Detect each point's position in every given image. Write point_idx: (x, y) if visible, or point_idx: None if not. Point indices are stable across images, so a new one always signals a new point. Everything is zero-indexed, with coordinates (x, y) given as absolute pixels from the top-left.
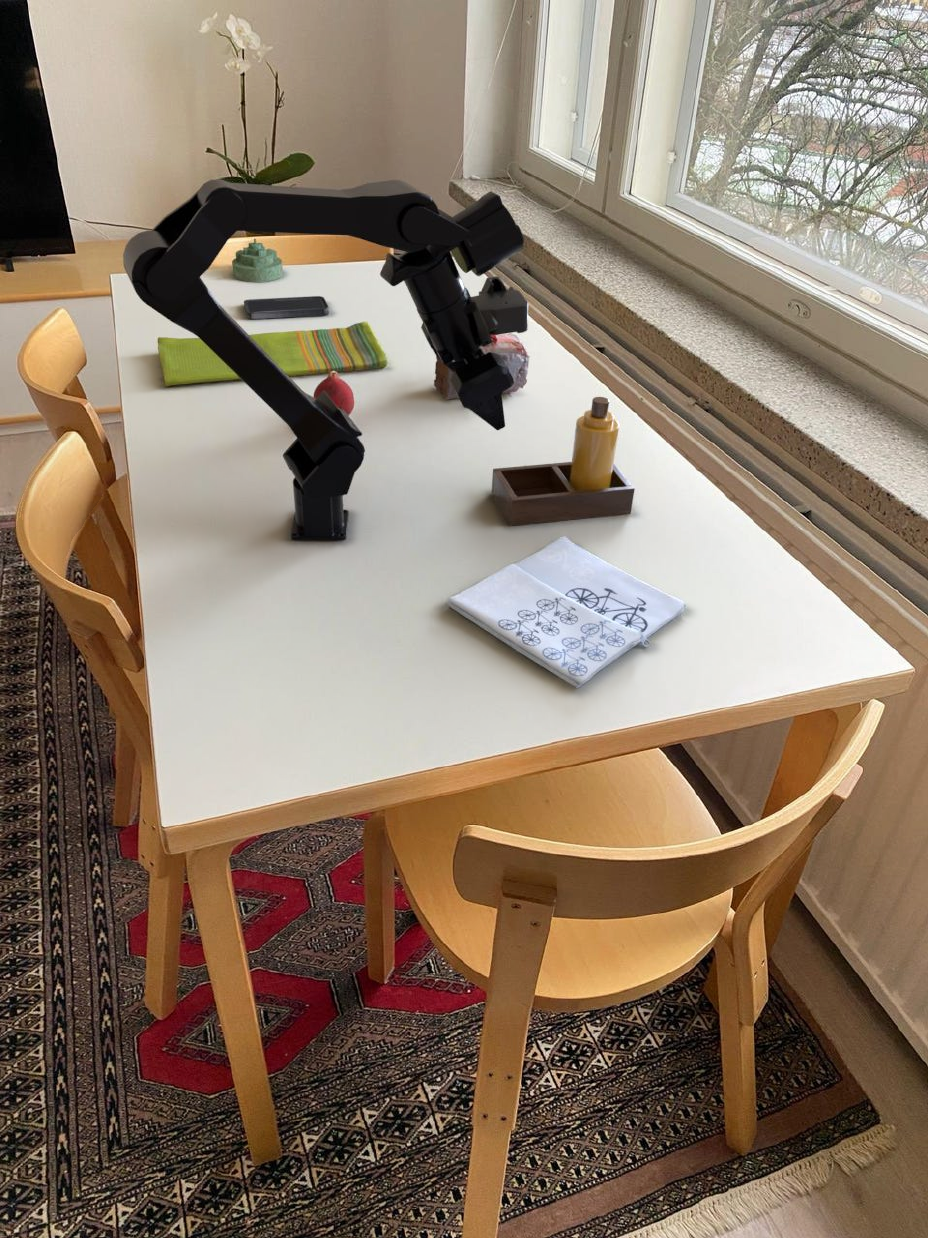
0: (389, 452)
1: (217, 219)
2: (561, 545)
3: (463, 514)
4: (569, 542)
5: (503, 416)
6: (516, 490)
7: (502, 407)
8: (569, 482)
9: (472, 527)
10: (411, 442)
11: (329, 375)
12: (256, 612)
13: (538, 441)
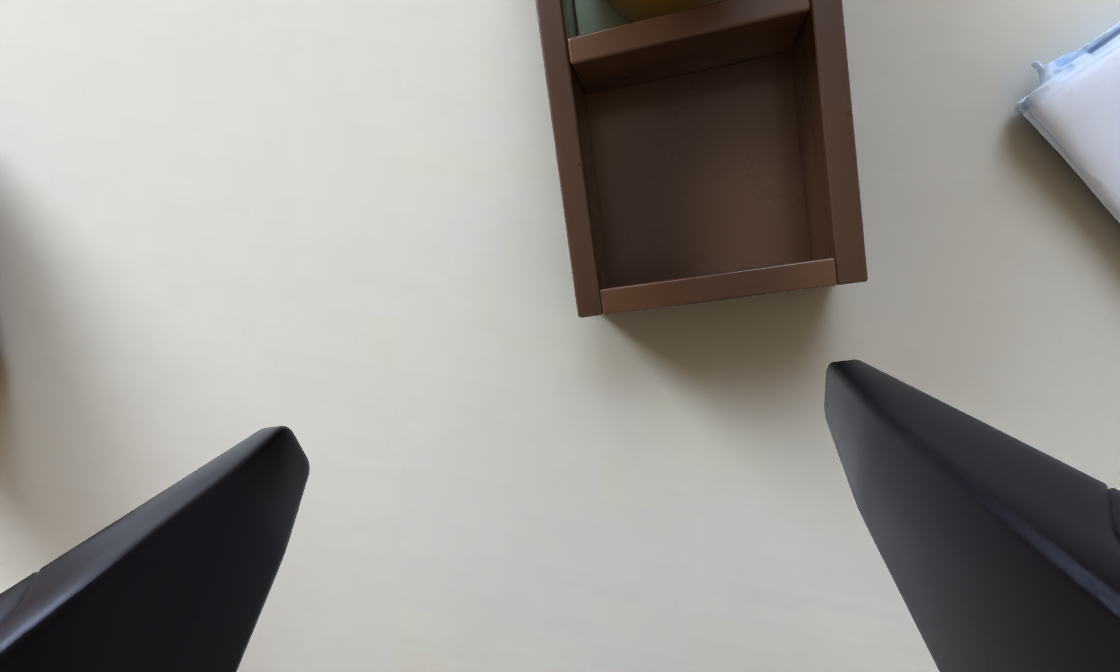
0: (321, 584)
1: None
2: (1115, 110)
3: (731, 427)
4: (1104, 72)
5: (958, 414)
6: (605, 222)
7: (1097, 485)
8: (656, 2)
9: None
10: None
11: None
12: None
13: (240, 89)
